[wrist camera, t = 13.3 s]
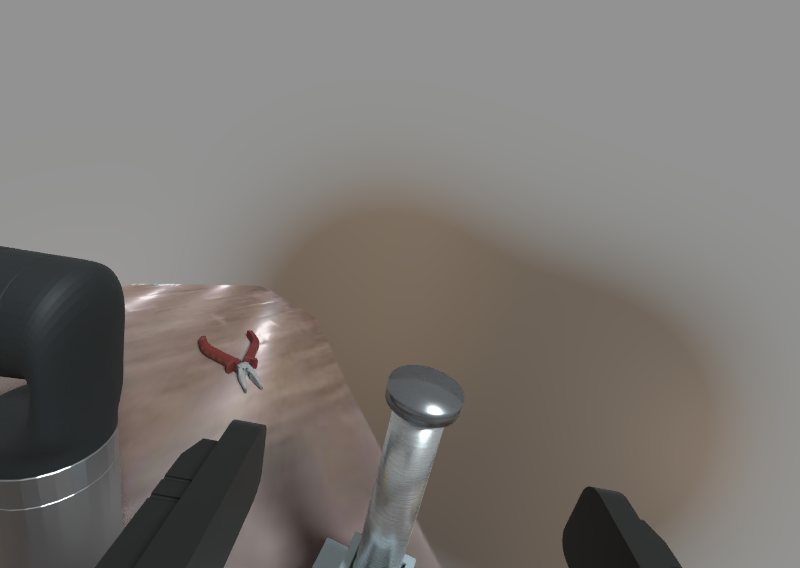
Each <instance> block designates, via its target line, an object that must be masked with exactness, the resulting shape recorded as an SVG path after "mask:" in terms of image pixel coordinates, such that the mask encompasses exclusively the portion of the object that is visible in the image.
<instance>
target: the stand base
mask: <svg viewBox="0 0 800 568" xmlns="http://www.w3.org/2000/svg"><path fill="white" fill-rule="evenodd" d="M361 536H362V534H360V533H358V532H355V534H354V536H353V538H352V541H351V543H350V545H349V547H347V546H345V545H342V544H340V543H338V542H336V541H334V540H332V539H330V538H327V540H326V541H325V543H324V545H323V547H322V549H321V551H320V553H319V555H318V557H317V559H316V561H315V563H314V565H313V567H312V568H353V564H354V561H355V559H356V556H357V552H358V548H359V544H360V540H361ZM415 561H416V559H415V558H413V557H410V556H408V555H406V554H405V556H404V559H403V562H402V565H401V568H414V565H415Z"/></svg>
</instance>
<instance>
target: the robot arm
mask: <svg viewBox="0 0 800 568" xmlns="http://www.w3.org/2000/svg"><path fill="white" fill-rule="evenodd" d="M124 326H125V304H124V295H123V291H122V287H121V284H120V282H119V280H118V278H117V276H116V275H115V274H114V272H113V271H112V270H111V269H110V268H108V267H107V266H105V265H103V264H100V263H97V262H93V261H88V260H83V259H77V258H71V257H65V256H57V255H51V254H45V253H39V252H33V251H27V250H20V249H15V248H9V247H2V246H0V376H1V377H10V378H18V379H26V381H27V385H24V386H21V387H18V388H16V389H14V390H11V391H9V392H7V393H5V394H3V395H1V396H0V568H223V567H224V565H225V563H226V561H227V559H228V556H229V554H230V552H231V550H232V547H233V545H234V543H235V541H236V539H237V536H238V534H239V532H240V530H241V527H242V525H243V523H244V521H245V519H246V516H247V514H248V512H249V510H250V507H251V505H252V503H253V501H254V498H255V495H256V493H257V490H258V486H259V483H260V479H261V473H262V465H263V456H264V447H265V438H266V425H262V424H257V423H251V422H246V421H240V420H233V421H232V422H231V423H230V425H229V426H228V428H227V429H226V431H225V432H224V434H223V435H222V437H221V438H220V440H219V441H214V440H209V439H202V440H201V441H199V442H198V443H196V444H195V445H193V446H192V447H191V448H189V449H188V450H186V451H185V452H183V453H182V454H181V455H180V456H179V458H178V459H177V460H176V461H175V463H174V464H173V465H172V467H171V468H170V469H169V471H168V472H167V473H166V475H165V477H164V479H162V480H161V481H160V482H159V484H158V485H157V486H156V488H155V489H154V490H153V492H152V493H151V496H150V498H147V499H146V501H145V502H144V503H143V505H142V506H141V507H140V509H139V510H138V511H137V513H136V514H135V515H134V517H133V518H132V519H131V520H130V522H129V523H128V524H127V526H126V527H125V528H123V504H122V485H121V465H120V446H119V430H118V405H119V401H120V396H121V391H122V385H123V351H124ZM562 541H563V551H564V556H565V559H566V561H567V564H568V567H569V568H682V567H681V565H680V564H679V562H678V561H677V559H676V558H675V556H674V555H673V553H672V552H671V550H670V549H669V547H668V545H667V544H666V543H665V542H664V541H663V540H662V539H661V537H660V536H658V535H657V533H655V531H654V530H652V528H651V527H650V526H649V525H648V524H647V523H646V522H645V521H644V520H640V519H639V517H638V516H637V514H636V512H635V511H634V509H633V508H632V506H631V504H630V503H629V501H628V500H627V498H626V497H625V496H624V495H623V494H621V493H620V492H616V491H611V490H606V489H600V488H595V487H586V488H585V489H584V490H583V492H582V494H581V496H580V498H579V500H578V502H577V504H576V506H575V508H574V510H573V512H572V514H571V516H570V518H569V520H568V522H567V524H566V526H565V528H564V531H563V540H562Z"/></svg>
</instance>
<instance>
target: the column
mask: <svg viewBox="0 0 800 568" xmlns="http://www.w3.org/2000/svg"><path fill="white" fill-rule="evenodd" d="M385 397H386V401H387V403H388V405H389V407H390V408H391V409H392V414H391V418H390V422H389V426H388V430H387V434H386V438H385V442H384V446H383V450H382V454H381V458H380V462H379V466H378V471H377V475H376V479H375V483H374V487H373V491H372V495H371V499H370V503H369V507H368V511H367V515H366V519H365V523H364V528H363V532H362V536H361V540H360V544H359V548H358V552H357V556H356V559H355V561H354V564H353V568H401V565H402V562H403V559H404V556H405V552H406V549H407V546H408V543H409V539H410V536H411V533H412V529H413V526H414V523H415V520H416V516H417V513H418V510H419V507H420V503H421V500H422V496H423V494H424V490H425V487H426V484H427V480H428V477H429V474H430V471H431V468H432V464H433V461H434V458H435V455H436V451H437V448H438V445H439V442H440V438H441V435H442V432H443V428H444V427H446V426H449V425H451V424H453V423H454V422H455V421H456V420H457V419H458V418H459V415H460V412H461V409H462V406H463V403H464V392H463V390H462V388H461V387H460V385H459V384H458V383H457V382H456V381H455V380H454V379H452V378H451V377H450V376H448V375H447V374H445V373H443V372H441V371H439V370H436V369H433V368H430V367H426V366H419V365H407V366H402V367H399V368H397V369H395V370H394V371H393V372H392V373H391V374H390V376H389V380H388V384H387V388H386V393H385Z"/></svg>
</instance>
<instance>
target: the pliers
mask: <svg viewBox="0 0 800 568" xmlns="http://www.w3.org/2000/svg"><path fill="white" fill-rule="evenodd" d="M247 338H248V339H249V341H250V342H251V346H250V348H249V350H248V352H247V354H246V356H245V358H244V361H243V362H242V363H241V360H239V359H238V358H234V357H232V356H230V355H228V354H226V353H224V352H222V351H220V350H218V349H216V348H214V347H213V346H211V345H210V344H209V343H208V342H207V339H206V336H201V337H200V338H199V342H198V343H199V346H200V350H201V352H202V353H203V354H204V355H205V356H206V357H208V358H210V359H212V360H213V361H215V362H217V363H219V364H221V365H223V366H225V367H226V373H228V374H229V373H231V372H233V371H234V372H238V380H239V382H240V384H241V385H242V387H243V389H244V391H245V392H246V393H247V390H246V380H245V375H249V379H250V380H251V381H252V382H253V383H255V384H256V385H257V386H258V387H260V388H261V389H263V387H262V385H261V382H260V380H259V378H258V376H257V373H256V372H255V370H254V369H256V368H257V363H258V360H257V358H254V357H255V355H256V353H257V351H258V348H259V340H258V338H257V336H256V335H255V334H254V332H253V331H247ZM253 368H254V369H253Z"/></svg>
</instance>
